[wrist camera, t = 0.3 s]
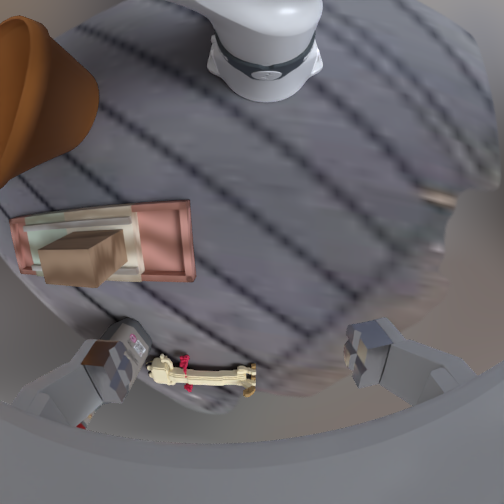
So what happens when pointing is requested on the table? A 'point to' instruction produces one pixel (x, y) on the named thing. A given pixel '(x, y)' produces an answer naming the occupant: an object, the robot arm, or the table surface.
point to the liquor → (127, 350)
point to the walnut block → (83, 258)
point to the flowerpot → (40, 98)
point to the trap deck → (135, 236)
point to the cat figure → (199, 375)
